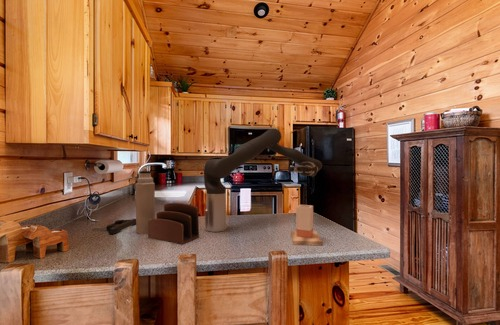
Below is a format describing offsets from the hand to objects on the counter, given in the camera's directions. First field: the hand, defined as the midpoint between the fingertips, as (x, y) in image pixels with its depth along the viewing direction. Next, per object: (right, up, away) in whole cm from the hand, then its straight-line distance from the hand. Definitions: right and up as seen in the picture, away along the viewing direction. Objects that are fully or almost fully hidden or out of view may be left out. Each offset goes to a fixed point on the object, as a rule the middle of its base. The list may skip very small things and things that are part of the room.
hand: (299, 169), depth 116 cm
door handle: (-90, -29, +1) cm, 95 cm away
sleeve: (-1, -27, -17) cm, 32 cm away
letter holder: (-56, -29, -13) cm, 65 cm away
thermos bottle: (-72, -29, -4) cm, 78 cm away
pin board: (-1, -28, -17) cm, 33 cm away
